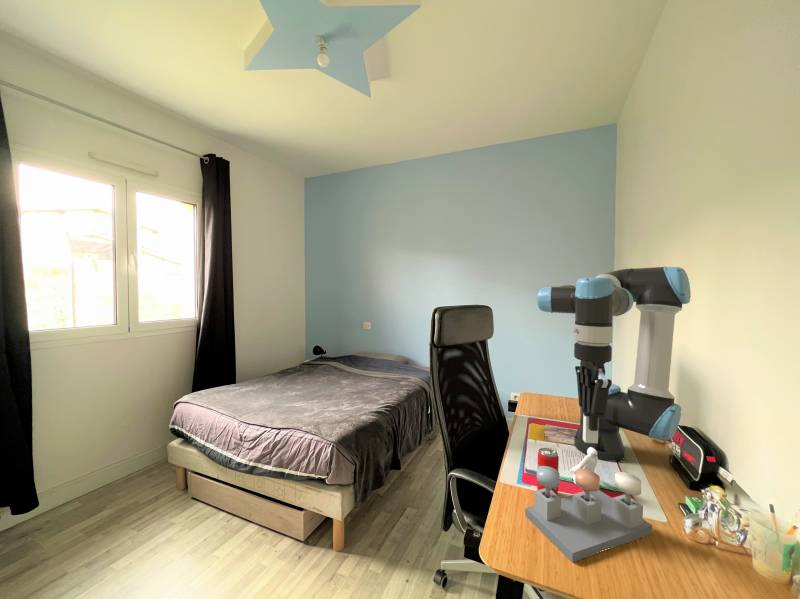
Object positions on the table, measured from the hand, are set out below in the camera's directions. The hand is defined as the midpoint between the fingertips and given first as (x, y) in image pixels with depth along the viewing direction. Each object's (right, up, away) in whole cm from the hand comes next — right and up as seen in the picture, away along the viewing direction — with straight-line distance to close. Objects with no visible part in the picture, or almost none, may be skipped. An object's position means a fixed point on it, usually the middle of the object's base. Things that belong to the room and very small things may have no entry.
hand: (590, 441), depth 74 cm
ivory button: (+9, -15, 0) cm, 18 cm away
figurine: (+8, -20, +17) cm, 27 cm away
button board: (0, -21, +1) cm, 21 cm away
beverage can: (-5, -20, +12) cm, 24 cm away
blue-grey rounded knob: (-9, -15, +2) cm, 18 cm away
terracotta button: (0, -15, +1) cm, 15 cm away
